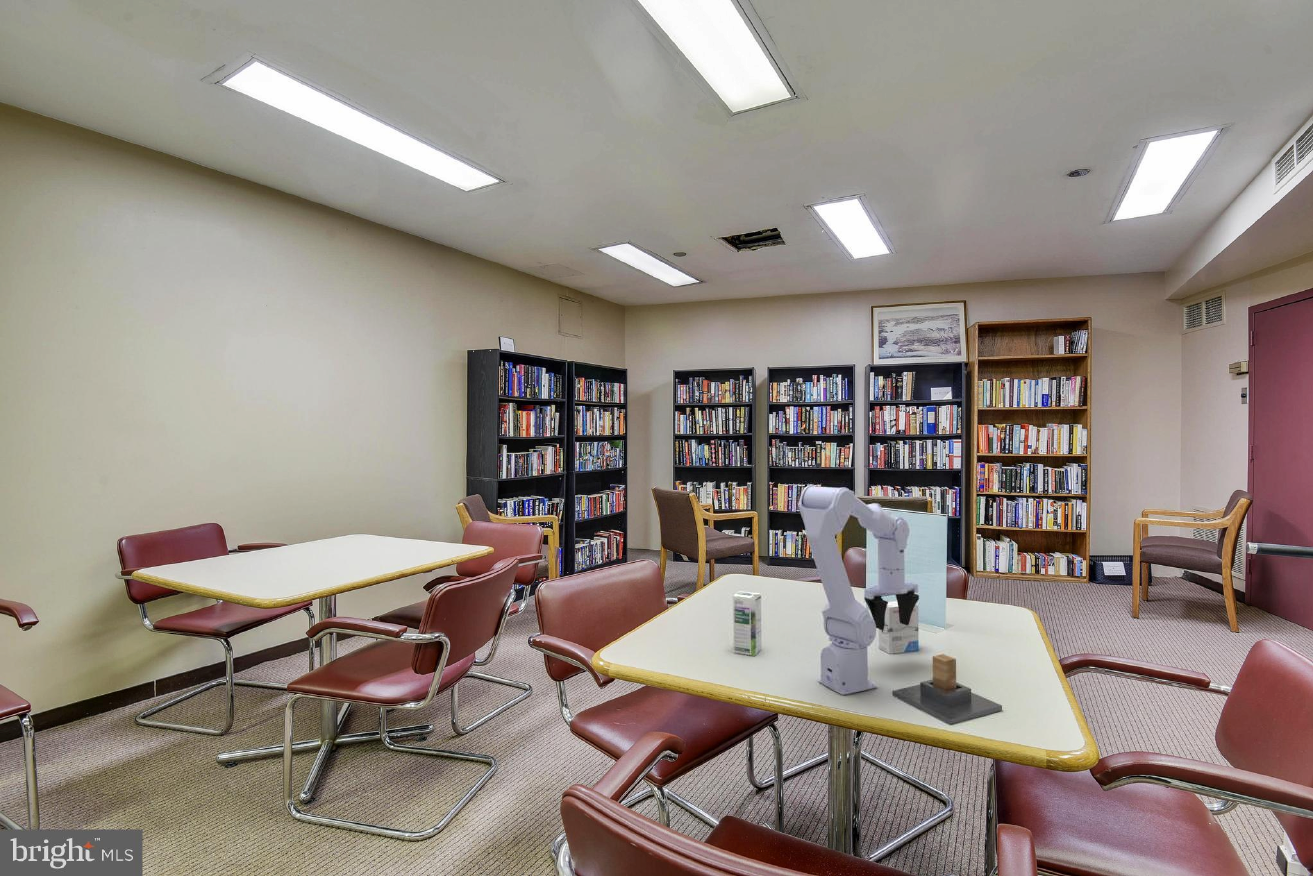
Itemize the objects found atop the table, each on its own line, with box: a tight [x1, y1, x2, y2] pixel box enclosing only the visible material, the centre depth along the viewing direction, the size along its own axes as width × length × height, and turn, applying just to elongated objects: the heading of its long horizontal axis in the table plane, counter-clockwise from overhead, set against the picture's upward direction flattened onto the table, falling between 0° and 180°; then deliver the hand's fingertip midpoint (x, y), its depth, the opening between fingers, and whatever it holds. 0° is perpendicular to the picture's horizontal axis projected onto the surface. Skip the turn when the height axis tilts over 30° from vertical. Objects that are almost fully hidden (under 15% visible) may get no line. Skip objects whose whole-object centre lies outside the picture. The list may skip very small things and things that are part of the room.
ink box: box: [878, 600, 920, 655], centre depth 150 cm, size 9×5×12 cm, turn 106°
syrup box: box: [732, 590, 762, 657], centre depth 150 cm, size 6×6×14 cm
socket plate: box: [891, 678, 1003, 725], centre depth 119 cm, size 14×14×4 cm
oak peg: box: [932, 653, 957, 692], centre depth 119 cm, size 3×3×8 cm
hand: (892, 626), depth 138 cm, fingers open, 7 cm apart
